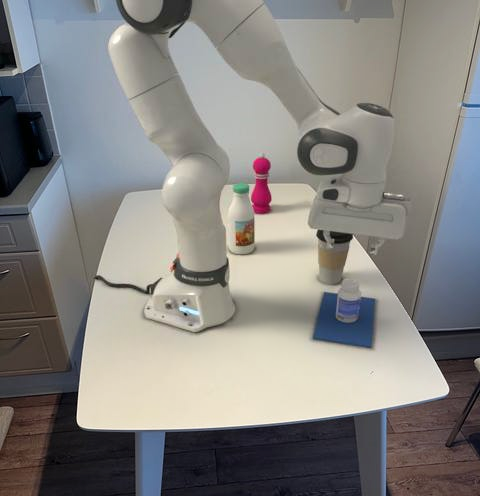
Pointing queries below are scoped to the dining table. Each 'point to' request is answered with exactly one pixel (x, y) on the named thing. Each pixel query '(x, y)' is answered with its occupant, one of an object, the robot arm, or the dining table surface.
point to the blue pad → (341, 331)
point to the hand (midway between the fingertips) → (351, 250)
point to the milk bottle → (241, 221)
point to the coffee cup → (332, 256)
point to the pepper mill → (261, 186)
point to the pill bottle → (348, 301)
